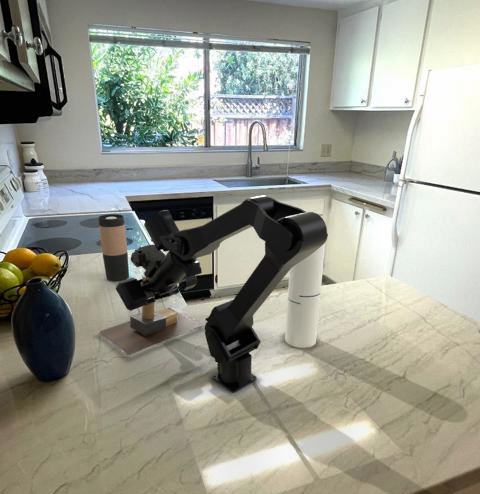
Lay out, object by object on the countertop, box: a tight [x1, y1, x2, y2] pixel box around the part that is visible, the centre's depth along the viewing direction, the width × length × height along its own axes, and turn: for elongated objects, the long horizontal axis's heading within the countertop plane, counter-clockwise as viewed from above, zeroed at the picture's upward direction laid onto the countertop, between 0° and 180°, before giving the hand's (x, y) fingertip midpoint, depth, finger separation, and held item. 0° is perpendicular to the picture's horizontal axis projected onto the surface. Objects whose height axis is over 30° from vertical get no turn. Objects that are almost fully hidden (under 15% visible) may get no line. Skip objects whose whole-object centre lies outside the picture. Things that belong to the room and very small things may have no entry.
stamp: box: [129, 274, 166, 336], centre depth 94 cm, size 6×6×13 cm
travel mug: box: [98, 213, 130, 282], centre depth 127 cm, size 8×8×20 cm
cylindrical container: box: [284, 242, 326, 349], centre depth 90 cm, size 7×7×25 cm
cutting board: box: [98, 307, 202, 356], centre depth 97 cm, size 14×20×1 cm
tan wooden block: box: [155, 307, 177, 326], centre depth 99 cm, size 4×4×2 cm
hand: (144, 301), depth 95 cm, fingers closed on stamp, 3 cm apart
